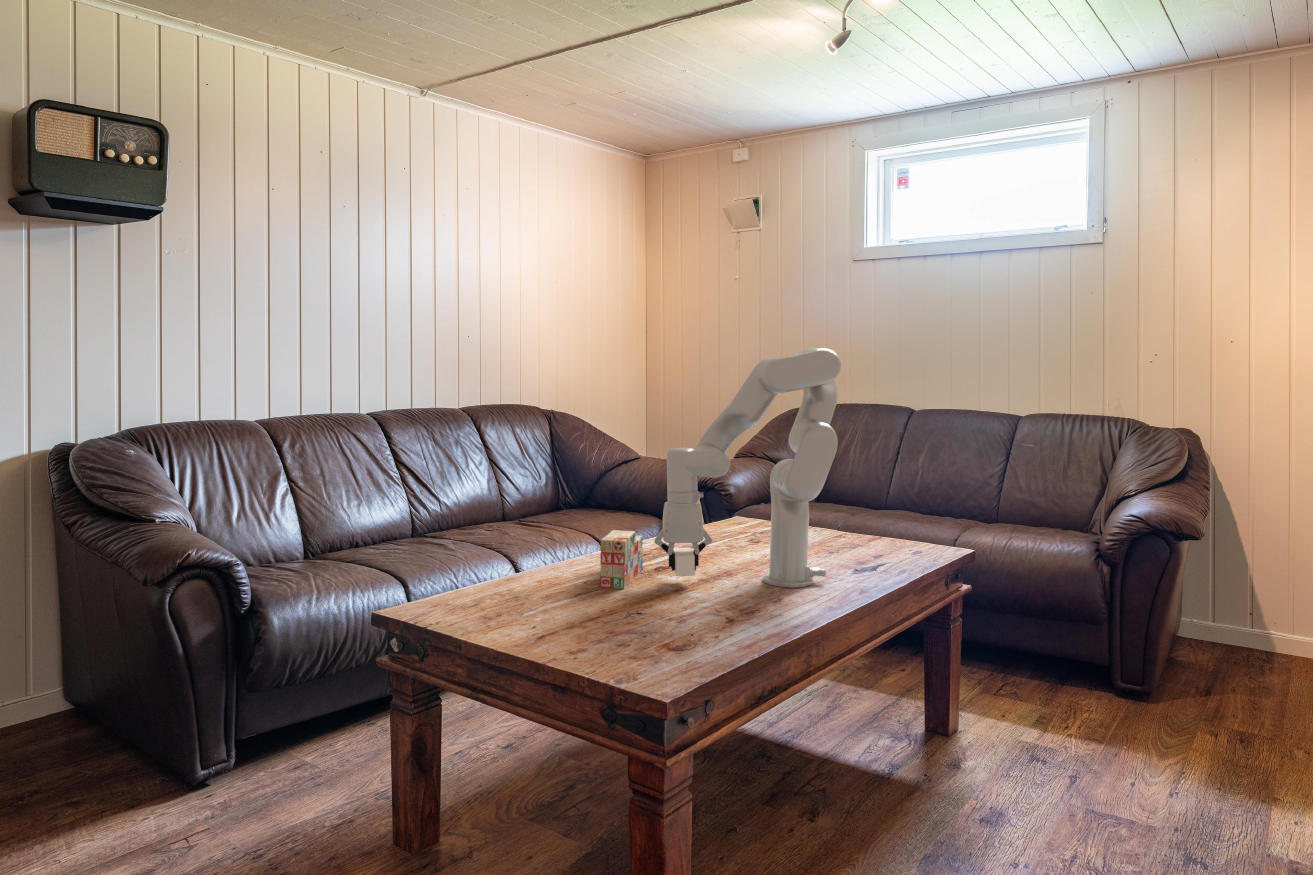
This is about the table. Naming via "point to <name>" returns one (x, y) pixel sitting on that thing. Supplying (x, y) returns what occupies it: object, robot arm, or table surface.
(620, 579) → the stack of blocks
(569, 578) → the table surface
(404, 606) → the table surface
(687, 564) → the cream bar block
